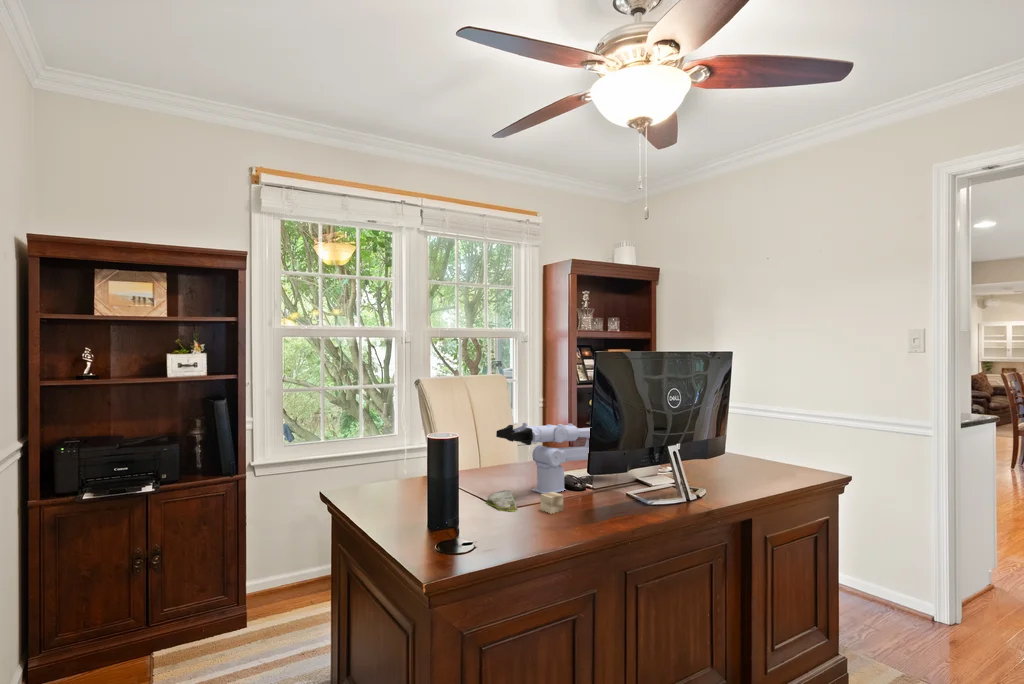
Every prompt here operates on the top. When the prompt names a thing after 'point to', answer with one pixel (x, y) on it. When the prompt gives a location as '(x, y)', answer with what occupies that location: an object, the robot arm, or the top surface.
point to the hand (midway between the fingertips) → (503, 435)
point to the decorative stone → (502, 501)
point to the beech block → (551, 502)
